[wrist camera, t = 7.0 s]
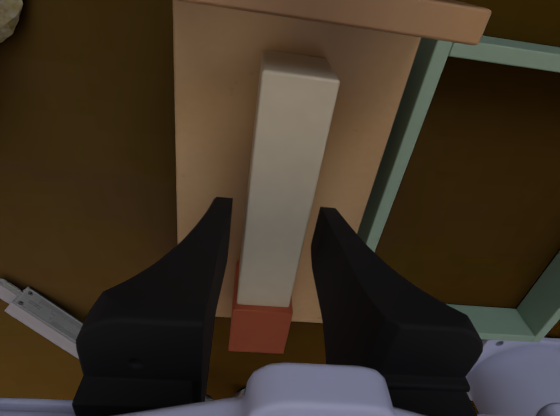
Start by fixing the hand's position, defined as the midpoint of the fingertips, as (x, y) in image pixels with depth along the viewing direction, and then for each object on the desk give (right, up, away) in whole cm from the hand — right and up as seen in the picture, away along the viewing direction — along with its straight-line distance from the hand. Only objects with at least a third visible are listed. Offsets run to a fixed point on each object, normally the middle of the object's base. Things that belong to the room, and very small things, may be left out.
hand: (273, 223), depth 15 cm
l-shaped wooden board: (0, +2, +4) cm, 4 cm away
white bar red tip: (0, +1, +1) cm, 1 cm away
